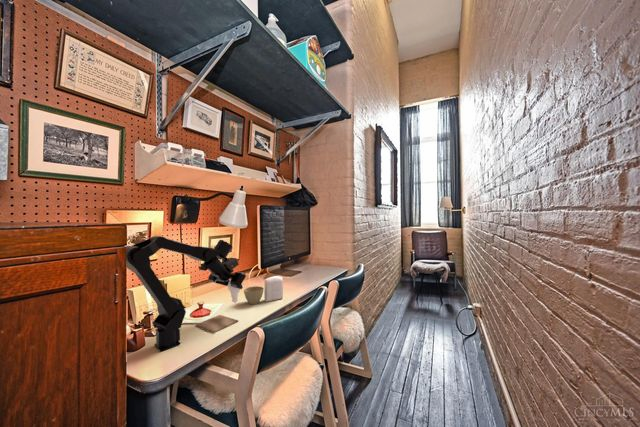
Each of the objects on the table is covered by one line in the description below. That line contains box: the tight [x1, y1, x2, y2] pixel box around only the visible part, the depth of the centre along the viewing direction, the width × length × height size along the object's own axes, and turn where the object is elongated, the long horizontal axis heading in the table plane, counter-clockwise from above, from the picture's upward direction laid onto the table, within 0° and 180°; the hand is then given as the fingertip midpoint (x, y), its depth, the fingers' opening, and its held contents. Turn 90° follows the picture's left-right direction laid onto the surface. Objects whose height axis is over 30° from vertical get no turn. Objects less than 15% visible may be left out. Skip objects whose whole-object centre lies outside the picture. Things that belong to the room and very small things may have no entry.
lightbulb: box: [227, 279, 241, 304], centre depth 117 cm, size 6×6×11 cm
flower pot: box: [243, 285, 265, 305], centre depth 133 cm, size 10×10×7 cm
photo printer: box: [263, 275, 284, 302], centre depth 138 cm, size 10×4×12 cm, turn 123°
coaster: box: [194, 314, 239, 334], centre depth 108 cm, size 12×12×1 cm
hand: (237, 287), depth 118 cm, fingers closed on lightbulb, 6 cm apart
